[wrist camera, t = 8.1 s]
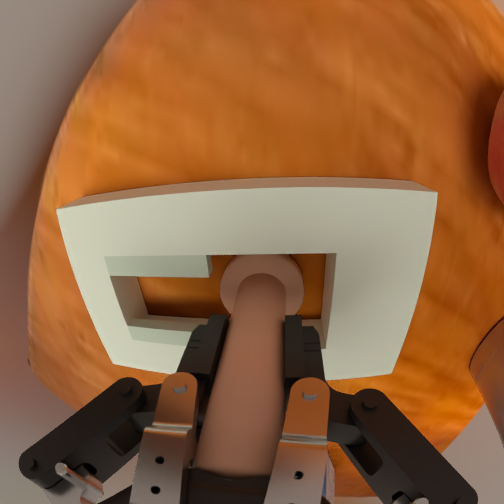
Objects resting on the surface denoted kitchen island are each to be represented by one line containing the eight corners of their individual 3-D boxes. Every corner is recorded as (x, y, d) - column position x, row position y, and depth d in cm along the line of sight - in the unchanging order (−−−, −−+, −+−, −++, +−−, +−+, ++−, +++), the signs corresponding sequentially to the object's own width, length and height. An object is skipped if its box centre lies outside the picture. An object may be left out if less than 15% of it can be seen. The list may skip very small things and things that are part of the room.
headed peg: (303, 246, 14) (332, 453, 4) (301, 314, 16) (308, 495, 6) (219, 247, 15) (131, 434, 5) (227, 314, 17) (181, 485, 7)
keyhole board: (413, 180, 13) (437, 192, 10) (381, 346, 18) (391, 373, 15) (83, 196, 15) (56, 209, 12) (127, 340, 20) (113, 363, 17)
